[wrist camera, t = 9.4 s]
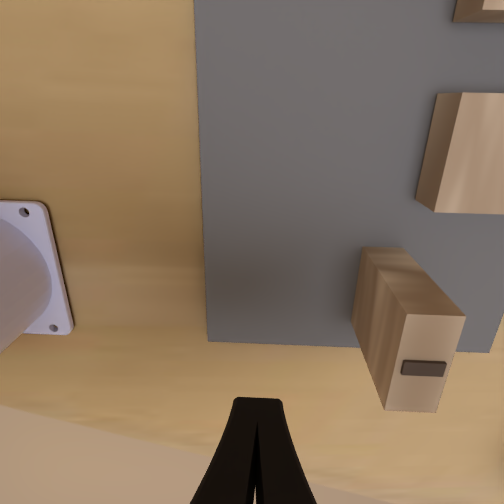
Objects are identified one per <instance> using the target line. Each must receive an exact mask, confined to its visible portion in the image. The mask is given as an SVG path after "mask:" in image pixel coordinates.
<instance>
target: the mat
mask: <svg viewBox="0 0 504 504" xmlns="http://www.w3.org/2000/svg"><path fill="white" fill-rule="evenodd" d="M456 4H457V0H194V14H195V38H196V63H197V88H198V112H199V137H200V162H201V186H202V211H203V236H204V260H205V285H206V309H207V334H208V341H209V342H234V343H258V344H283V345H307V346H332V347H356V348H361V347H360V345H359V342H358V339H357V337H356V334H355V331H354V329H353V326H352V324H351V317H352V311H353V304H354V298H355V292H356V285H357V279H358V273H359V267H360V260H361V254H362V248H363V247H393V248H404V249H405V250H406V251H407V253H408V254H409V255H410V256H411V257H412V258H413V259H414V260H415V261H416V262H417V263H418V264H419V266H420V267H421V268H422V269H423V270H424V271H425V272H426V273H427V274H428V275H429V276H430V277H431V279H432V280H433V281H434V282H435V283H436V284H437V285H438V286H439V287H440V288H441V289H442V290H443V292H444V293H445V294H446V295H447V296H448V297H449V298H450V299H451V300H452V301H453V302H454V303H455V305H456V306H457V307H458V308H459V309H460V310H461V311H462V312H463V313H464V314H465V315H466V319H465V322H464V326H463V329H462V332H461V335H460V338H459V341H458V344H457V348H456V351H455V352H479V353H489V352H490V349H491V346H492V343H493V341H494V338H495V335H496V333H497V330H498V327H499V324H500V322H501V319H502V316H503V313H504V214H474V213H440V212H433V211H431V210H430V209H428V208H427V207H425V206H424V205H422V204H421V203H419V202H418V201H416V200H415V198H416V193H417V188H418V184H419V179H420V174H421V170H422V165H423V160H424V155H425V151H426V146H427V141H428V137H429V132H430V127H431V122H432V118H433V113H434V108H435V103H436V99H437V94H438V93H462V92H465V93H504V23H479V22H453V18H454V14H455V9H456Z"/></svg>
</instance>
